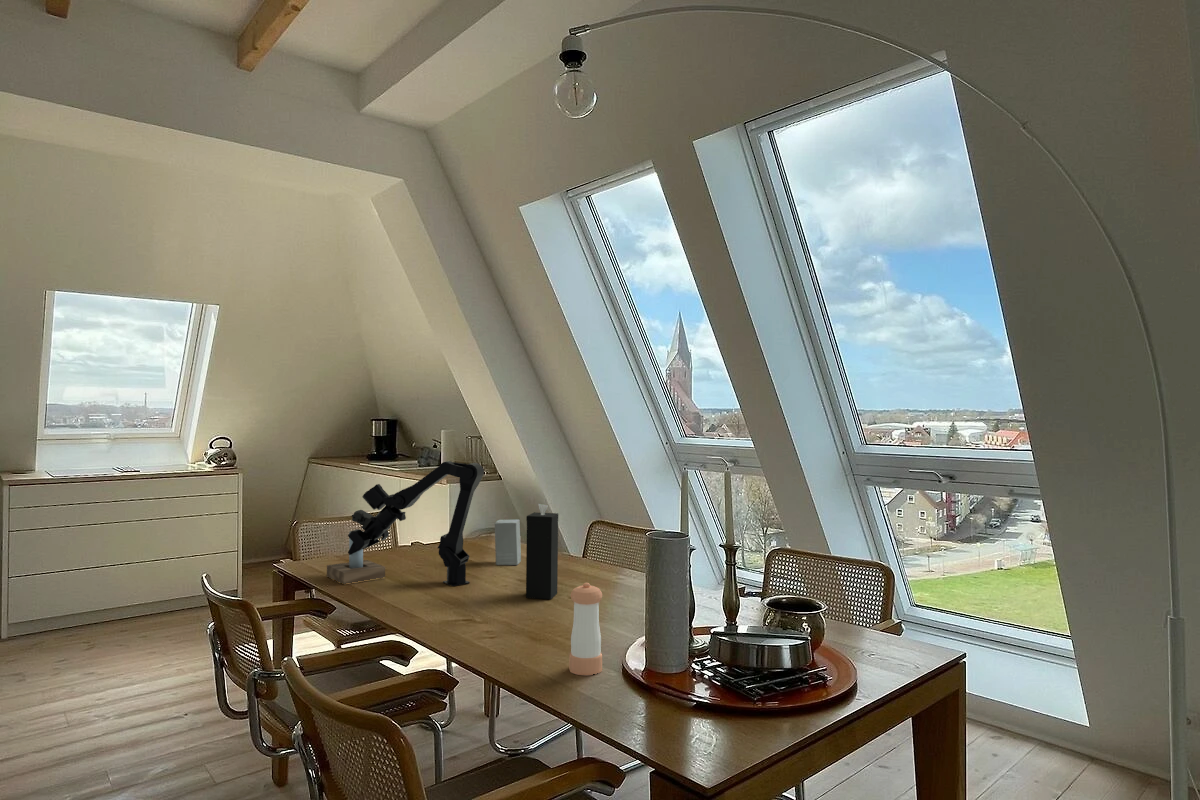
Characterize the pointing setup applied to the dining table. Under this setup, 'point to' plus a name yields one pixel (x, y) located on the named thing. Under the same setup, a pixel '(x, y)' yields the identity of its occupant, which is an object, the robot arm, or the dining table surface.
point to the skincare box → (507, 542)
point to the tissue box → (542, 554)
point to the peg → (355, 557)
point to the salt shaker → (586, 631)
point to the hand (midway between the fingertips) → (352, 552)
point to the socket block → (355, 572)
